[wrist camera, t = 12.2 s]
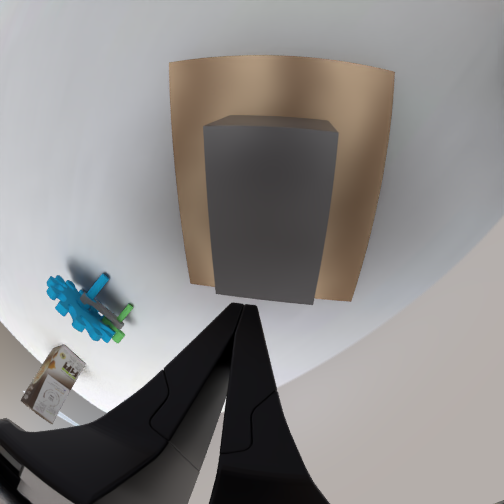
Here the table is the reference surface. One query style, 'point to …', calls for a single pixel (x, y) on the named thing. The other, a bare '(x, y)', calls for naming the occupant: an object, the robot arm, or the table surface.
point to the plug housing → (269, 204)
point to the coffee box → (53, 383)
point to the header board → (286, 105)
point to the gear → (87, 309)
